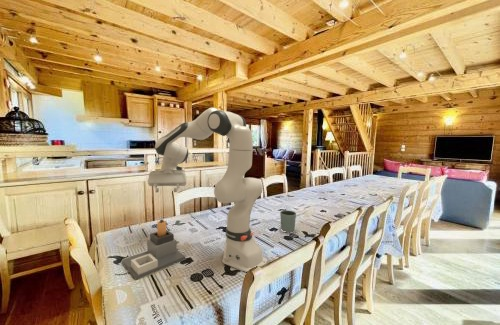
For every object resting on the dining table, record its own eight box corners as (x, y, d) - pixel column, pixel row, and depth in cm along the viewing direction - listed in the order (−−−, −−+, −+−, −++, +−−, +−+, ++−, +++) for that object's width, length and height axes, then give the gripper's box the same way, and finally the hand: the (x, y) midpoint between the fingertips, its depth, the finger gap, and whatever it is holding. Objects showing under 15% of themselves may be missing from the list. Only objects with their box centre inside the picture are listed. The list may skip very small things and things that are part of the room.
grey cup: (295, 234, 134) (296, 216, 133) (278, 232, 136) (279, 214, 135) (295, 228, 144) (296, 210, 143) (279, 226, 146) (280, 209, 144)
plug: (167, 240, 105) (167, 220, 104) (159, 242, 102) (159, 222, 101) (163, 237, 108) (163, 218, 107) (156, 239, 105) (155, 220, 104)
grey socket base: (185, 259, 102) (185, 238, 101) (136, 280, 86) (135, 255, 85) (168, 246, 114) (168, 227, 113) (122, 262, 97) (121, 240, 96)
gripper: (148, 167, 119) (144, 188, 111) (186, 167, 124) (185, 188, 115) (150, 174, 124) (146, 195, 116) (187, 174, 129) (185, 194, 120)
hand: (166, 191), depth 116 cm, fingers open, 8 cm apart
